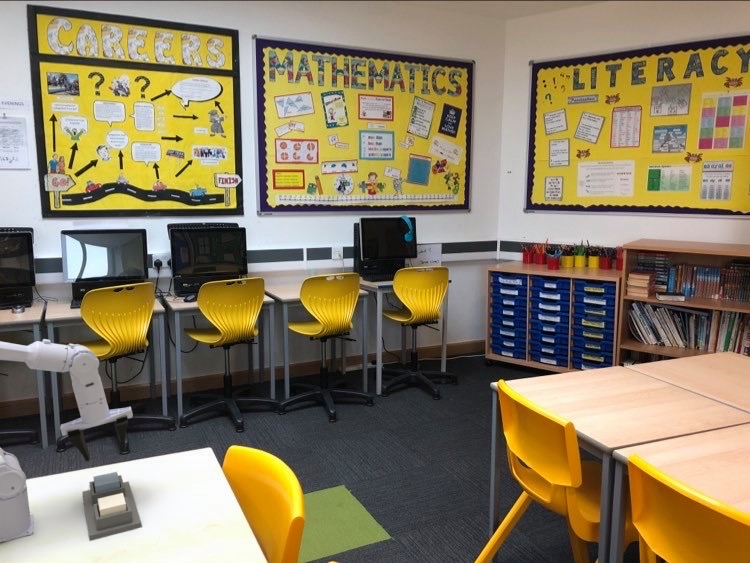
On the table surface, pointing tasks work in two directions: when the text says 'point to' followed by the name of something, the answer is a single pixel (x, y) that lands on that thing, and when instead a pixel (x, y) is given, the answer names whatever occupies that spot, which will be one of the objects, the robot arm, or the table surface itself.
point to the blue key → (106, 482)
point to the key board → (111, 522)
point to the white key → (111, 505)
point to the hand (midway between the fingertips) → (106, 453)
